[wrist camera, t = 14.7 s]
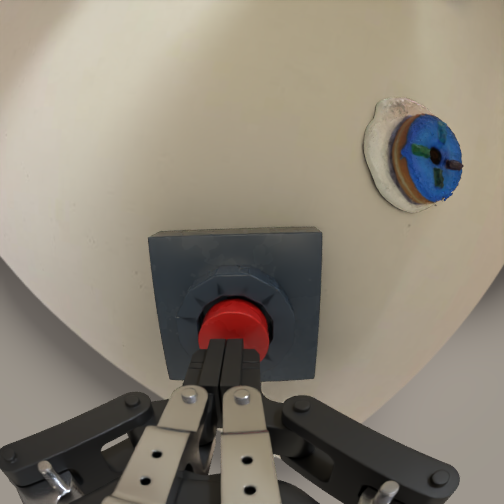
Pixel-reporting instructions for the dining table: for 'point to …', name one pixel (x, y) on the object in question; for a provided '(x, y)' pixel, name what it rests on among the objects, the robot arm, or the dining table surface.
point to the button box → (240, 291)
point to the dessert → (411, 155)
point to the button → (236, 325)
